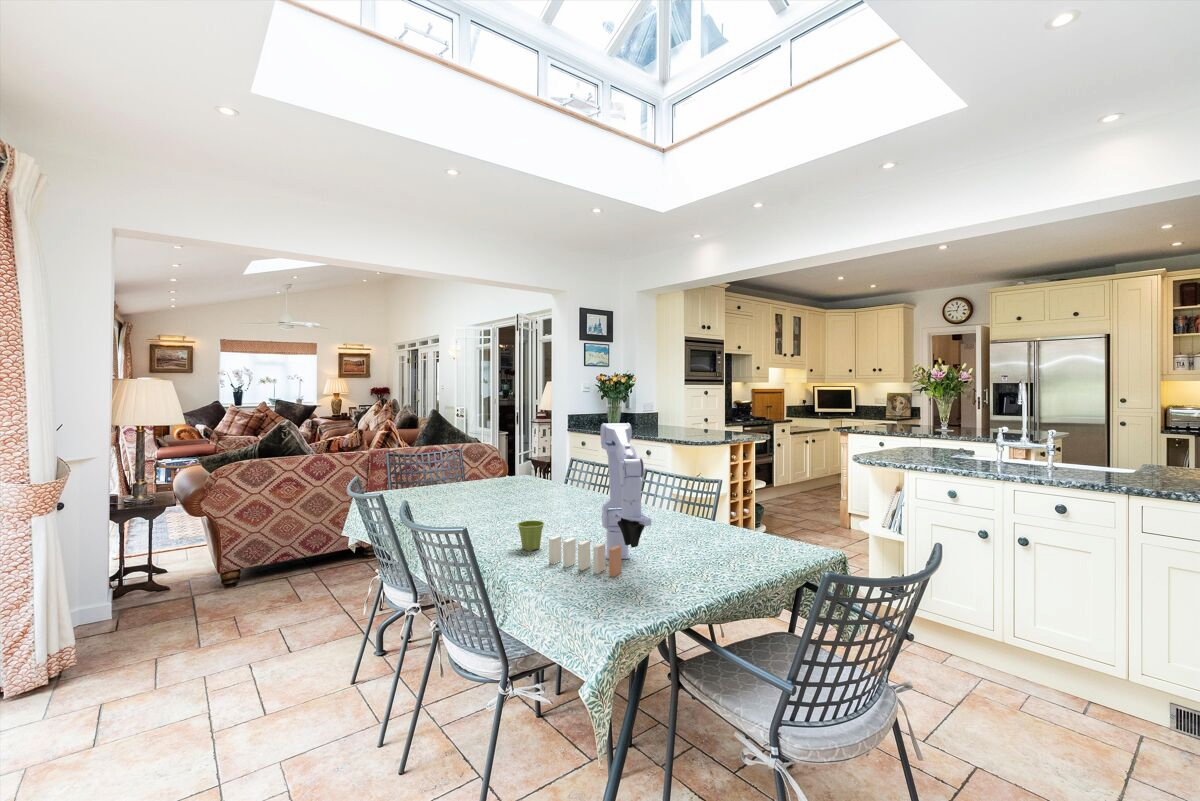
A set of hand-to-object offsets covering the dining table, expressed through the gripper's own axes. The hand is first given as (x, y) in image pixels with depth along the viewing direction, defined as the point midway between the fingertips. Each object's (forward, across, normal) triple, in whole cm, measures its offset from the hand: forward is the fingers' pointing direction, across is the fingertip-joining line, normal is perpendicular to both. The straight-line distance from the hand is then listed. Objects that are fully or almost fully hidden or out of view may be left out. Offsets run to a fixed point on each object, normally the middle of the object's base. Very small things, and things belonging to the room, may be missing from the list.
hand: (631, 545), depth 158 cm
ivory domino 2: (+9, +21, +7) cm, 24 cm away
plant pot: (+10, +44, +7) cm, 45 cm away
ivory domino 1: (+9, +26, +9) cm, 29 cm away
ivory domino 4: (+9, +10, +4) cm, 14 cm away
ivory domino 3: (+9, +16, +6) cm, 19 cm away
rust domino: (+9, +5, +2) cm, 11 cm away
